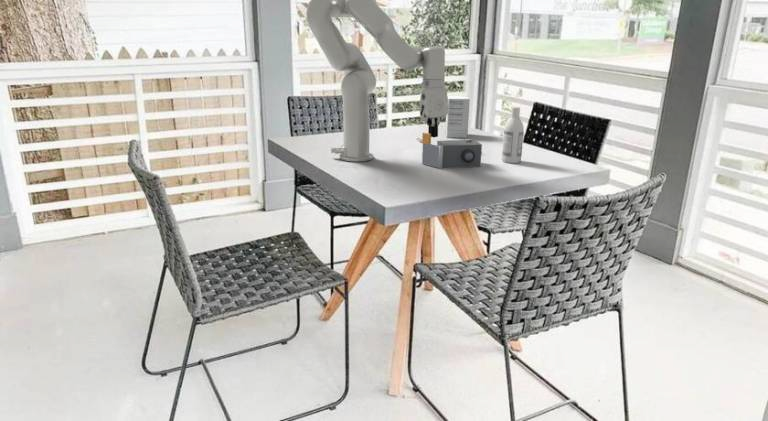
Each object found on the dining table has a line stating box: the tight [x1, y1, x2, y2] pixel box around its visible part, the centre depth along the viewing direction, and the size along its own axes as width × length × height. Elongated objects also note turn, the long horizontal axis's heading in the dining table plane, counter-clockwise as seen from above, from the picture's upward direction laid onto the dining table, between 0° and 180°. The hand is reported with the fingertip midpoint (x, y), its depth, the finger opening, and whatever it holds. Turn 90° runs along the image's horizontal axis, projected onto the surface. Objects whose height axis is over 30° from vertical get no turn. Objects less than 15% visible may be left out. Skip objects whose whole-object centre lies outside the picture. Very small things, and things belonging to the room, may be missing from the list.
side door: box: [421, 132, 443, 170], centre depth 208 cm, size 1×9×11 cm, turn 42°
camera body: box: [436, 138, 483, 169], centre depth 211 cm, size 14×10×9 cm
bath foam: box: [501, 106, 524, 164], centre depth 215 cm, size 7×7×20 cm
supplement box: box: [444, 95, 471, 139], centre depth 258 cm, size 10×9×17 cm
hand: (433, 136), depth 210 cm, fingers closed
